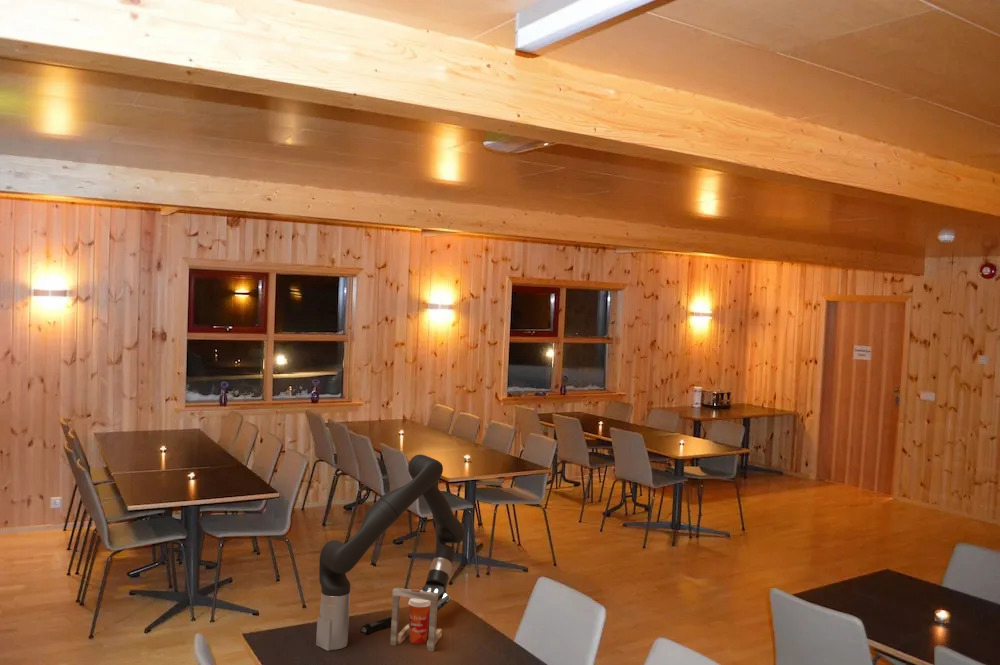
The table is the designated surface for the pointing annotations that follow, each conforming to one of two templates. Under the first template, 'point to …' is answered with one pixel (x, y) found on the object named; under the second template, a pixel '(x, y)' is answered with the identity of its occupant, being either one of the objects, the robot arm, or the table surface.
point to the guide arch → (398, 638)
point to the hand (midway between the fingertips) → (426, 619)
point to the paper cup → (418, 620)
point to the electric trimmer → (376, 625)
